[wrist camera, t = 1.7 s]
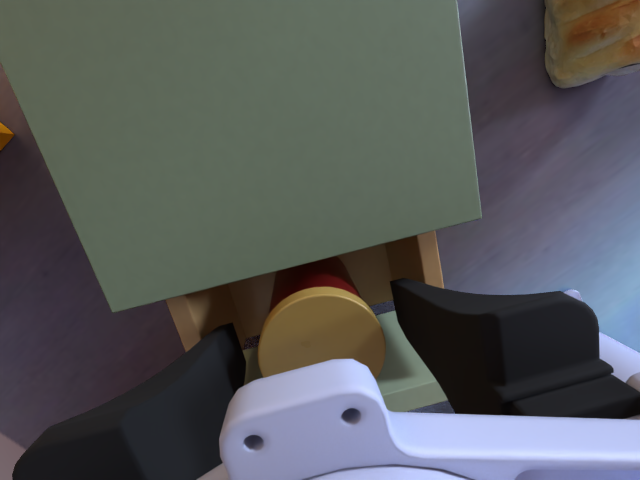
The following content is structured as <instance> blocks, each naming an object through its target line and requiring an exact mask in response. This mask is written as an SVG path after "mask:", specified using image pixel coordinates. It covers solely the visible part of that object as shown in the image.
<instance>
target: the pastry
mask: <svg viewBox="0 0 640 480" xmlns="http://www.w3.org/2000/svg"><path fill="white" fill-rule="evenodd" d="M544 4H545V6H546V11H545V18H544V25H545V32H544V38H545V39H546V52H545V66H546V70H547V72H548V74H549V76H550V78H551V80H552V82H553V84H554V85H556V86H557V87H560V88H570V87H575V86H580V85H583V84H586V83H588V82H592V81H594V80H596V79H598V78H601V77H603V76H605V75H612V76H623V75H627V74H629V73H632V72H637V71H639V70H640V0H545V1H544Z"/></svg>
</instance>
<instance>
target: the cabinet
mask: <svg viewBox="0 0 640 480" xmlns="http://www.w3.org/2000/svg"><path fill="white" fill-rule="evenodd" d="M0 62H1V65H2V67H3V69H4V71H5V74H6V76H7V78H8V80H9V83H10V85H11V87H12V89H13V92H14V94H15V96H16V98H17V100H18V103H19V105H20V107H21V109H22V112H23V114H24V116H25V118H26V121H27V123H28V125H29V127H30V130H31V132H32V134H33V136H34V139H35V141H36V143H37V145H38V148H39V150H40V152H41V154H42V157H43V159H44V161H45V163H46V166H47V168H48V170H49V172H50V174H51V177H52V179H53V181H54V183H55V186H56V188H57V190H58V192H59V195H60V197H61V199H62V201H63V204H64V206H65V208H66V210H67V213H68V215H69V217H70V219H71V222H72V224H73V226H74V228H75V231H76V233H77V235H78V237H79V240H80V242H81V244H82V246H83V248H84V251H85V253H86V255H87V257H88V260H89V262H90V264H91V266H92V269H93V271H94V273H95V275H96V278H97V280H98V282H99V284H100V287H101V289H102V291H103V293H104V296H105V298H106V300H107V302H108V305H109V307H110V309H111V311H112V313H116V312H120V311H124V310H127V309H131V308H135V307H139V306H143V305H147V304H151V303H155V302H159V301H162V300H166V299H170V298H174V297H178V296H182V295H186V294H190V293H194V292H197V291H201V290H205V289H209V288H213V287H217V286H221V285H225V284H229V283H232V282H236V281H240V280H244V279H248V278H252V277H256V276H260V275H264V274H268V273H271V272H275V271H279V270H283V269H287V268H291V267H295V266H299V265H303V264H306V263H310V262H314V261H318V260H322V259H326V258H330V257H334V256H338V255H341V254H345V253H349V252H353V251H357V250H361V249H365V248H369V247H373V246H376V245H380V244H384V243H388V242H392V241H396V240H400V239H404V238H408V237H411V236H415V235H419V234H423V233H427V232H431V231H435V230H439V229H443V228H446V227H450V226H454V225H458V224H462V223H466V222H470V221H474V220H478V219H481V218H482V214H481V206H480V197H479V188H478V180H477V171H476V162H475V154H474V145H473V136H472V127H471V119H470V110H469V101H468V93H467V84H466V75H465V66H464V58H463V49H462V40H461V32H460V23H459V14H458V6H457V0H0Z"/></svg>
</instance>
